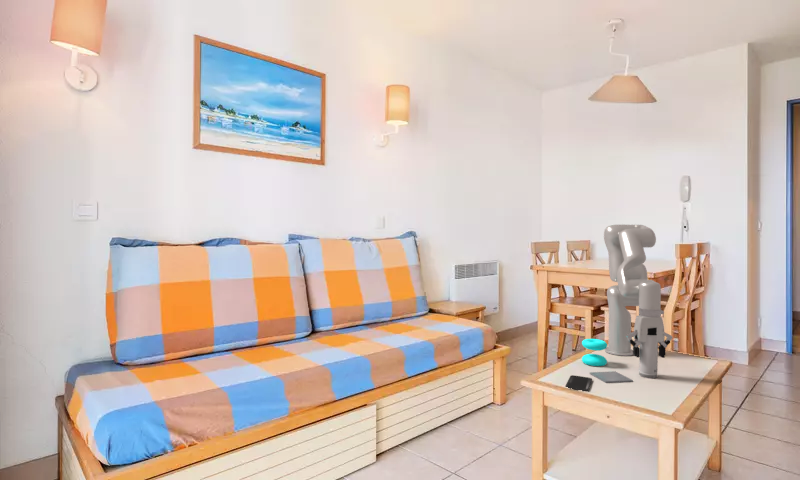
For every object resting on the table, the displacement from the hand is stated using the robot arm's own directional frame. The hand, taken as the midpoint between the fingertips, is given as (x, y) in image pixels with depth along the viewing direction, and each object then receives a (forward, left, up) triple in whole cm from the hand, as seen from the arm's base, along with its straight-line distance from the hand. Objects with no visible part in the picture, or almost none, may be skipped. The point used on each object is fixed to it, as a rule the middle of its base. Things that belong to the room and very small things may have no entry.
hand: (649, 356), depth 179 cm
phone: (+11, -31, -8) cm, 34 cm away
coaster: (+3, -16, -8) cm, 18 cm away
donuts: (-16, -15, -8) cm, 23 cm away
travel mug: (0, 0, -8) cm, 8 cm away
